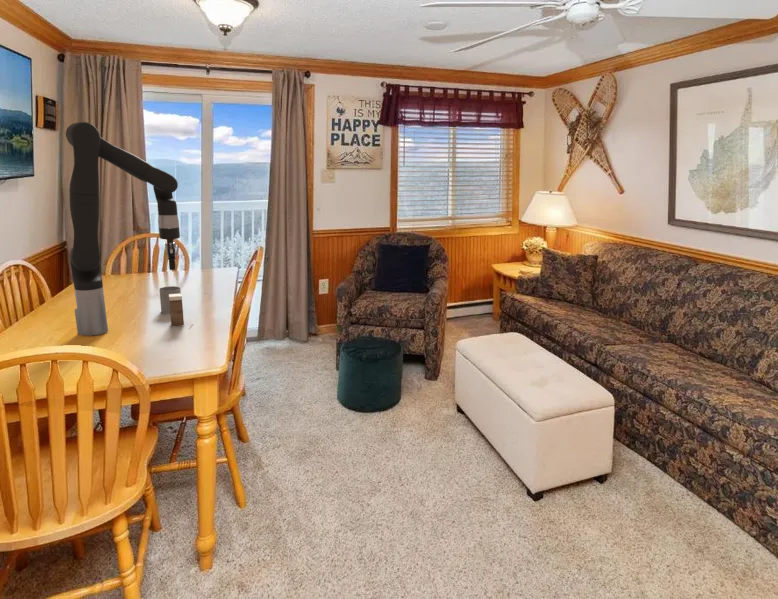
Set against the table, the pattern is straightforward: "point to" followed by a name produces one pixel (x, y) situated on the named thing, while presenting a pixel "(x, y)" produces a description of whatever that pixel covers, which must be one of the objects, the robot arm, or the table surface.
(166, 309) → the cup
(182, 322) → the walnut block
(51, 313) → the table surface
